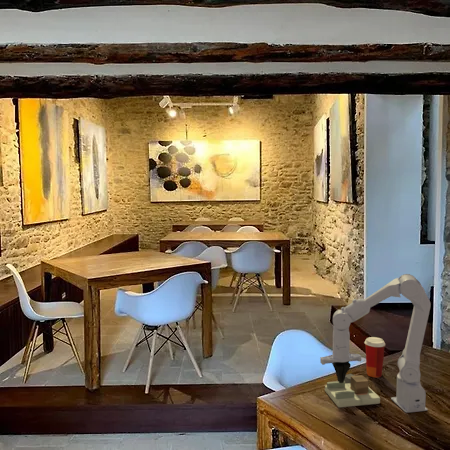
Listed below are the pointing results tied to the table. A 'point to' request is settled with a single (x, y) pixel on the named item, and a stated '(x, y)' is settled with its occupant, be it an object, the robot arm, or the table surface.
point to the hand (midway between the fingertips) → (340, 381)
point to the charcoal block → (348, 378)
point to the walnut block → (359, 384)
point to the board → (349, 395)
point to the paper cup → (374, 356)
